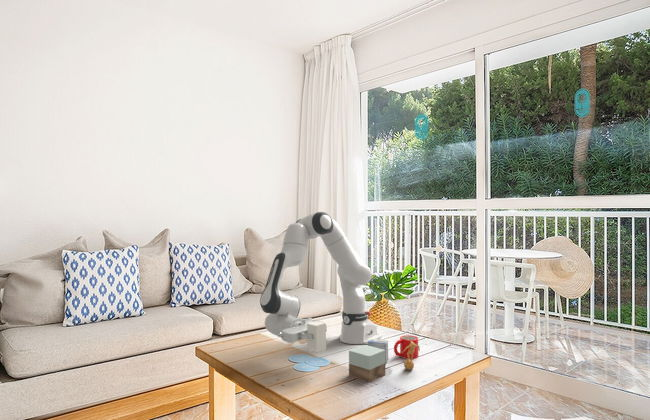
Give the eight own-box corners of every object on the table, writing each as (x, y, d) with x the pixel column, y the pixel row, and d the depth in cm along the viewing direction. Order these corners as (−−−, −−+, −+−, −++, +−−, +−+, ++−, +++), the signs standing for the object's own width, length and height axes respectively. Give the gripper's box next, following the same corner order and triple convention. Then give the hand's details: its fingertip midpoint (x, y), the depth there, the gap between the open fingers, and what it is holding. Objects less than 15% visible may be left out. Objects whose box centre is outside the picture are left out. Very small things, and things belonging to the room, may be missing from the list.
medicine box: (388, 360, 181) (388, 339, 181) (386, 363, 177) (386, 342, 177) (370, 358, 183) (370, 338, 184) (367, 361, 179) (367, 341, 179)
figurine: (414, 366, 173) (414, 336, 173) (423, 371, 168) (423, 340, 168) (397, 369, 170) (397, 339, 170) (405, 374, 164) (405, 343, 165)
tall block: (317, 346, 167) (316, 321, 168) (326, 349, 164) (325, 323, 164) (307, 349, 164) (307, 323, 164) (316, 352, 160) (316, 325, 160)
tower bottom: (365, 369, 171) (365, 357, 171) (385, 375, 164) (385, 362, 164) (348, 376, 164) (348, 363, 164) (369, 383, 157) (369, 369, 157)
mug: (389, 356, 186) (388, 338, 186) (410, 351, 192) (410, 334, 192) (400, 361, 179) (400, 342, 180) (422, 356, 185) (422, 338, 185)
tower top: (365, 357, 171) (364, 344, 171) (385, 363, 164) (385, 350, 164) (348, 363, 164) (348, 350, 164) (369, 369, 157) (369, 356, 157)
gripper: (274, 326, 166) (298, 332, 156) (312, 316, 180) (335, 321, 171) (274, 342, 166) (298, 350, 156) (312, 331, 180) (336, 337, 170)
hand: (318, 335), depth 163 cm, fingers closed on tall block, 5 cm apart
